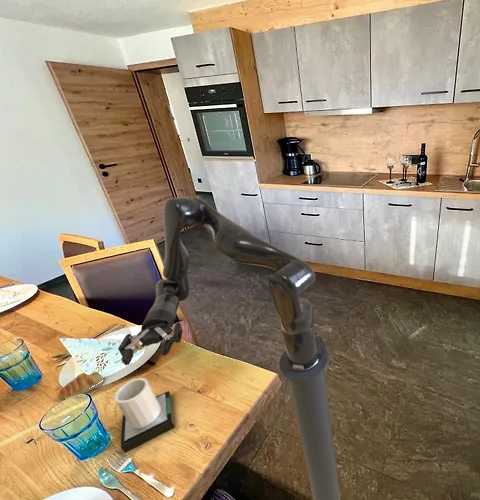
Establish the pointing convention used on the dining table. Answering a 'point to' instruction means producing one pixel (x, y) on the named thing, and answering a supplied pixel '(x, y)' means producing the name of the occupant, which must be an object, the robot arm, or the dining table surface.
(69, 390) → the pastry
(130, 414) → the cup
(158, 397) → the scale
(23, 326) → the dining table surface
